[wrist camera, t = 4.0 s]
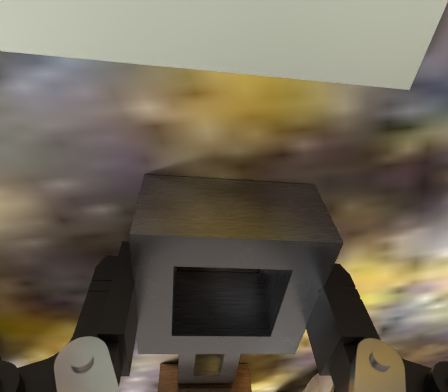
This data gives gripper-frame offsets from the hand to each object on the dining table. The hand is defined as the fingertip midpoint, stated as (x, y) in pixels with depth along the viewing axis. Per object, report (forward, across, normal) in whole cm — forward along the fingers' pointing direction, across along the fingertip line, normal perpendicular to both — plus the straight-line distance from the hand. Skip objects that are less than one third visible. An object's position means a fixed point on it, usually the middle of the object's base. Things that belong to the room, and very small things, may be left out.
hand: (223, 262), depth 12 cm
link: (+1, 0, 0) cm, 1 cm away
